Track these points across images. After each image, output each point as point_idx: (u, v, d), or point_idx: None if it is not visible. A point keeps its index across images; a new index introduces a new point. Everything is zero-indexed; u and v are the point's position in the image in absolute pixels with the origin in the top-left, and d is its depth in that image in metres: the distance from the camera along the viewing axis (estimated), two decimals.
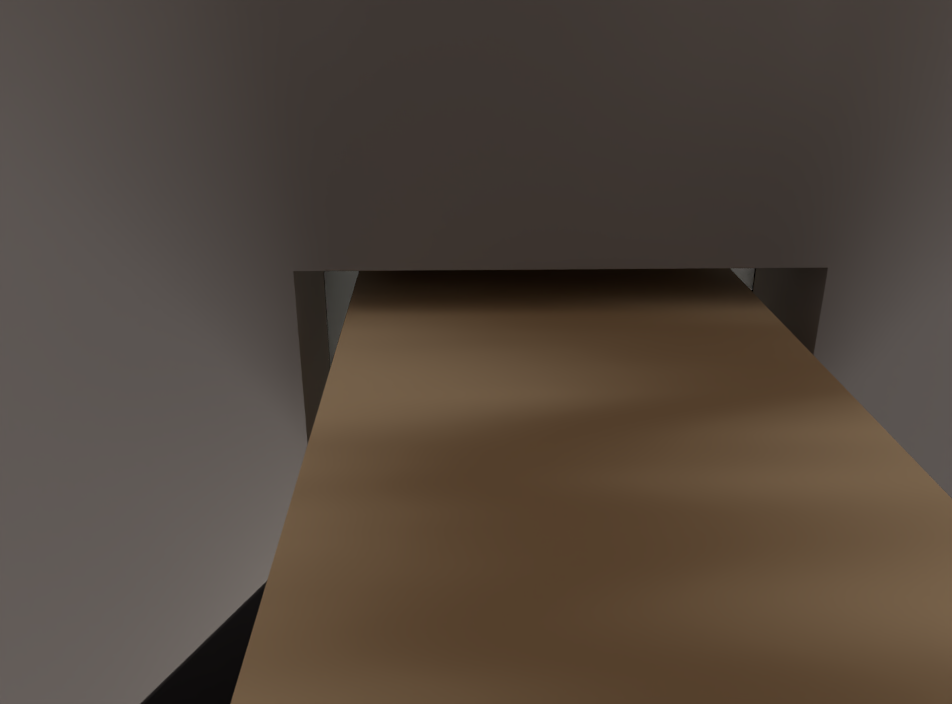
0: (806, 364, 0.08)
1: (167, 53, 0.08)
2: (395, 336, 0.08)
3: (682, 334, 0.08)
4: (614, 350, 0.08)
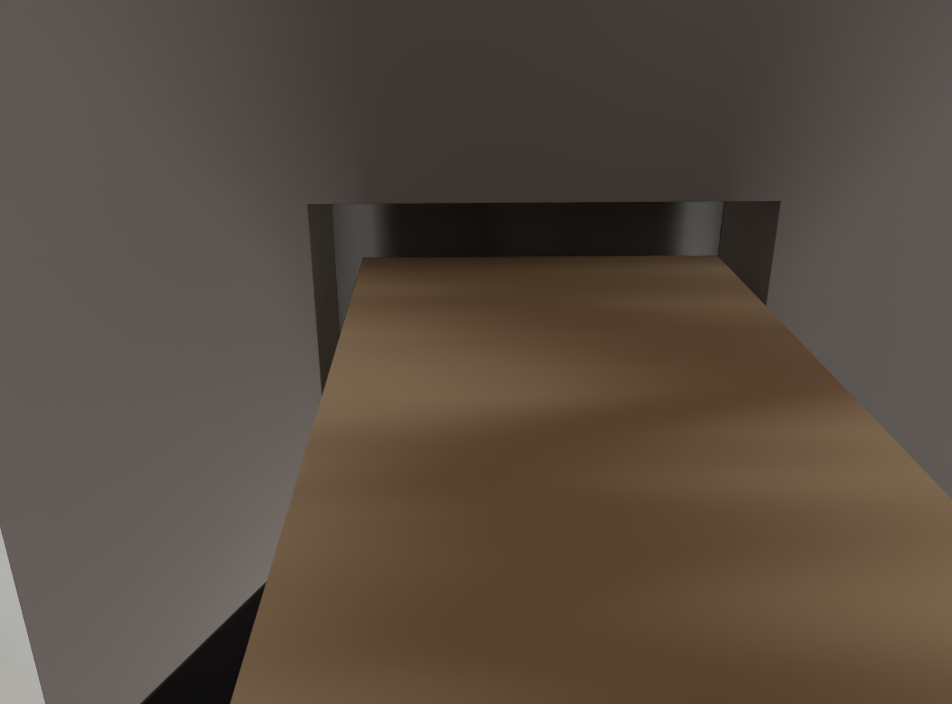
0: (806, 364, 0.08)
1: (198, 7, 0.09)
2: (394, 336, 0.08)
3: (681, 334, 0.08)
4: (614, 349, 0.08)
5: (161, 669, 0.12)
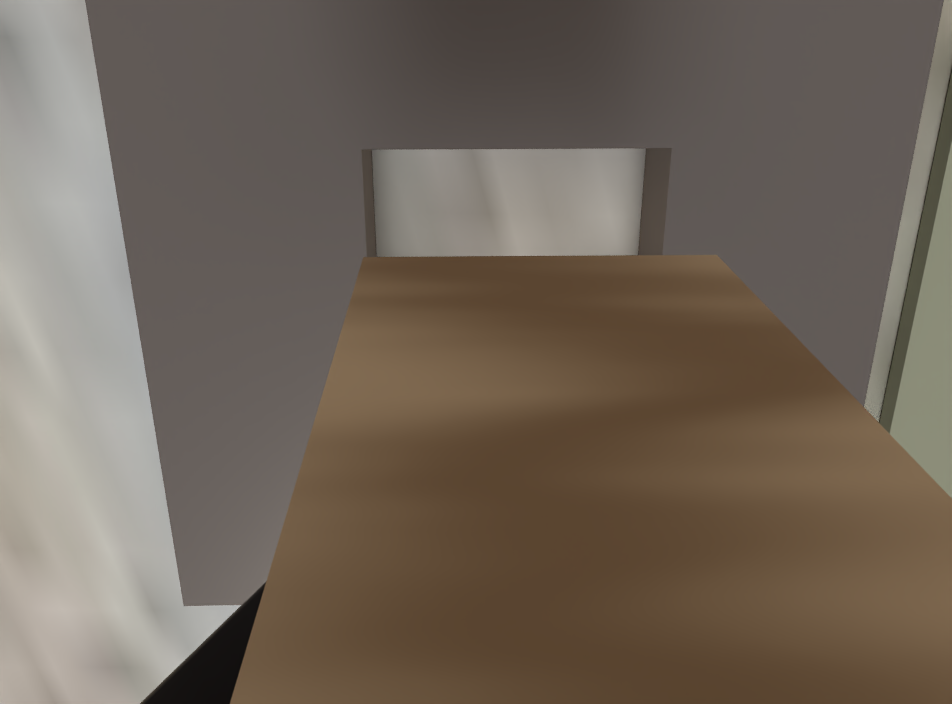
0: (805, 363, 0.08)
1: (295, 22, 0.14)
2: (395, 335, 0.08)
3: (681, 333, 0.09)
4: (614, 348, 0.08)
5: (250, 484, 0.18)
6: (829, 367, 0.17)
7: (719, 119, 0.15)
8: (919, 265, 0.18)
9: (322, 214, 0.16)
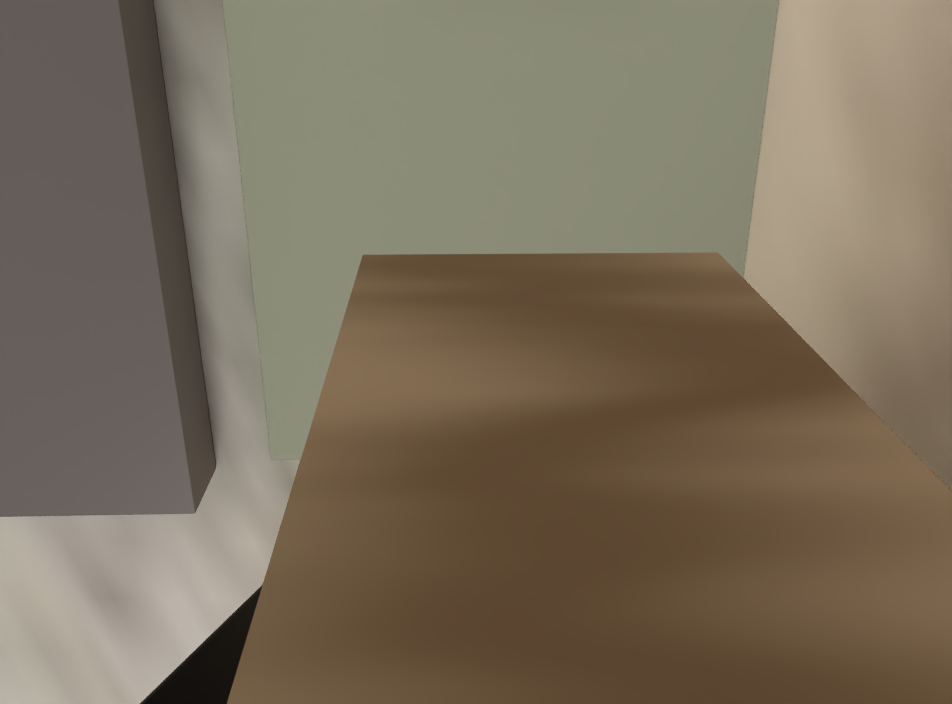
0: (808, 361, 0.08)
1: None
2: (393, 332, 0.08)
3: (682, 331, 0.08)
4: (615, 346, 0.08)
5: None
6: (120, 288, 0.18)
7: None
8: None
9: None
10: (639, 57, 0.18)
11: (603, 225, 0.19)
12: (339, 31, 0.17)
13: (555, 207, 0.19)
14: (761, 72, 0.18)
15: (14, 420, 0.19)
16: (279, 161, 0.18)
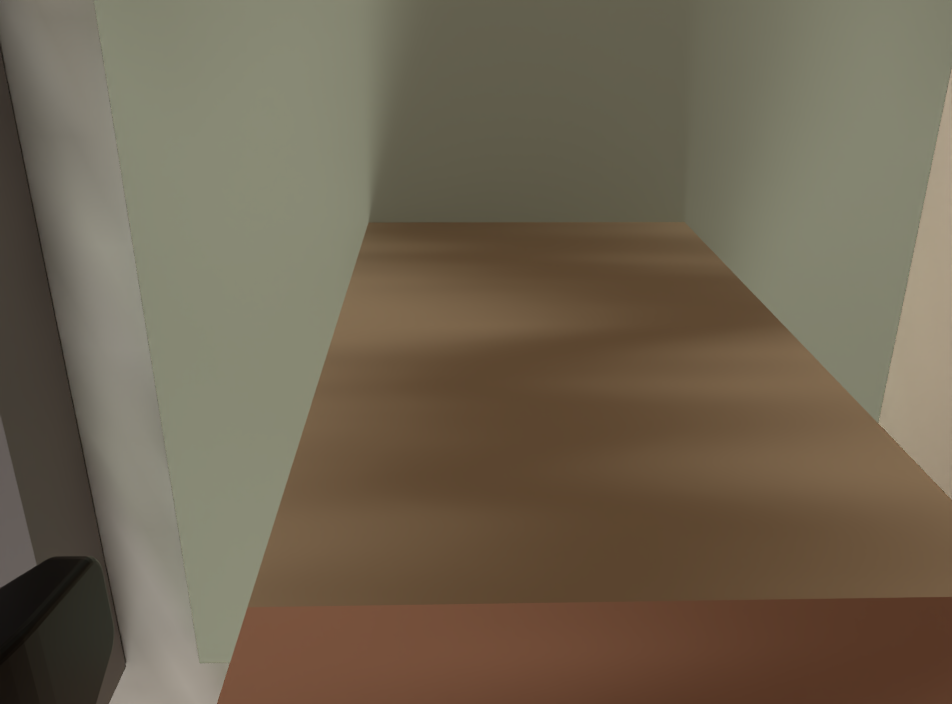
0: (750, 304, 0.09)
1: None
2: (396, 282, 0.10)
3: (646, 282, 0.10)
4: (587, 293, 0.09)
5: None
6: None
7: None
8: None
9: None
10: (742, 106, 0.12)
11: None
12: (280, 68, 0.11)
13: None
14: (926, 128, 0.12)
15: None
16: (195, 260, 0.12)
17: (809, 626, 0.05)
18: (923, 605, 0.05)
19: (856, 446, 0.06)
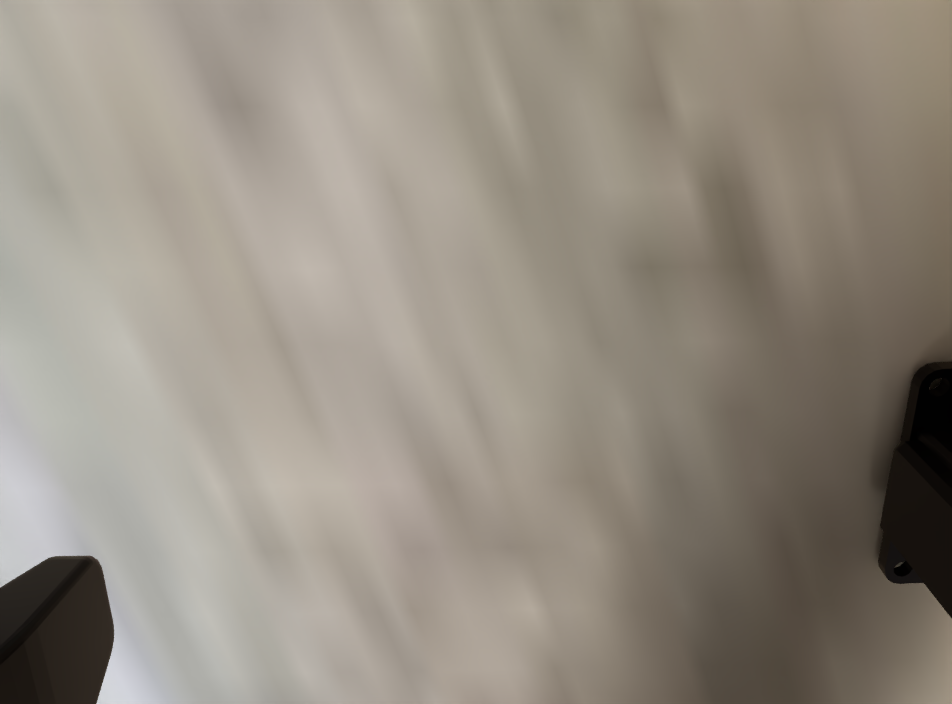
0: None
1: None
2: None
3: None
4: None
5: None
6: None
7: None
8: None
9: None
10: None
11: None
12: None
13: None
14: None
15: None
16: None
17: None
18: None
19: None
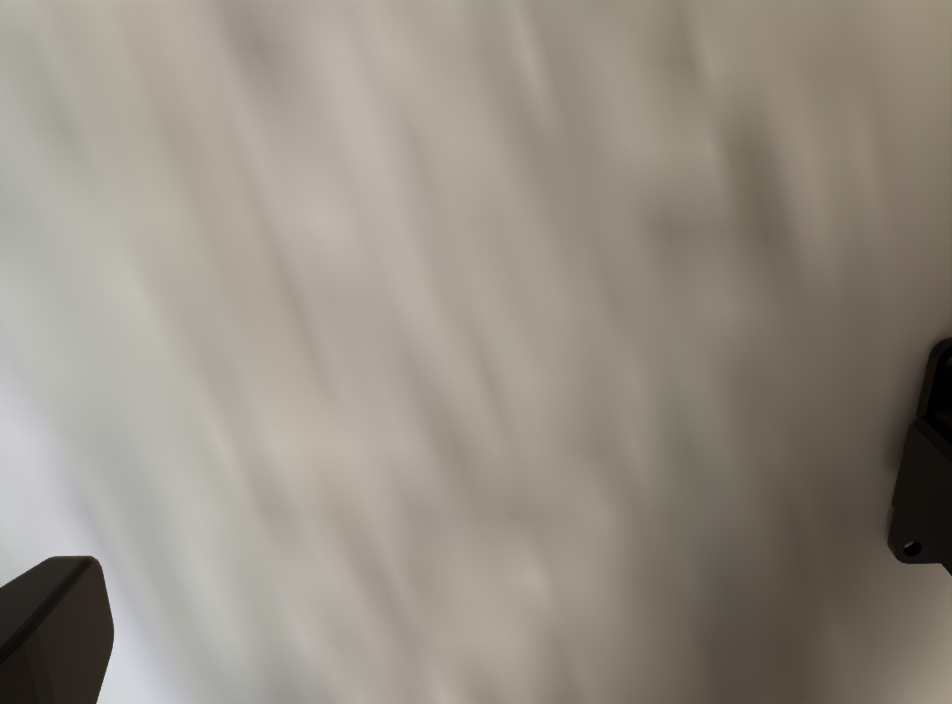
0: None
1: None
2: None
3: None
4: None
5: None
6: None
7: None
8: None
9: None
10: None
11: None
12: None
13: None
14: None
15: None
16: None
17: None
18: None
19: None
